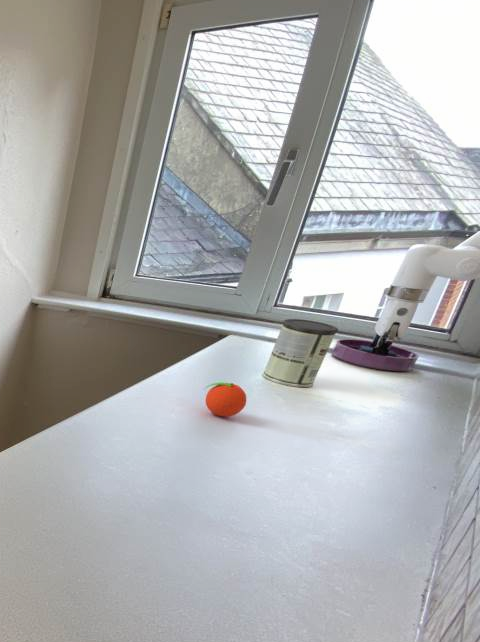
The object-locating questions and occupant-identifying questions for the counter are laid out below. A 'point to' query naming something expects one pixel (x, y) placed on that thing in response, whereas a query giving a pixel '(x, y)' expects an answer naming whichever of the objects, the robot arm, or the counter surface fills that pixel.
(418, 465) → the counter surface
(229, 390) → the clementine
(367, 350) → the eraser
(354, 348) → the bowl
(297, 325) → the coffee can
